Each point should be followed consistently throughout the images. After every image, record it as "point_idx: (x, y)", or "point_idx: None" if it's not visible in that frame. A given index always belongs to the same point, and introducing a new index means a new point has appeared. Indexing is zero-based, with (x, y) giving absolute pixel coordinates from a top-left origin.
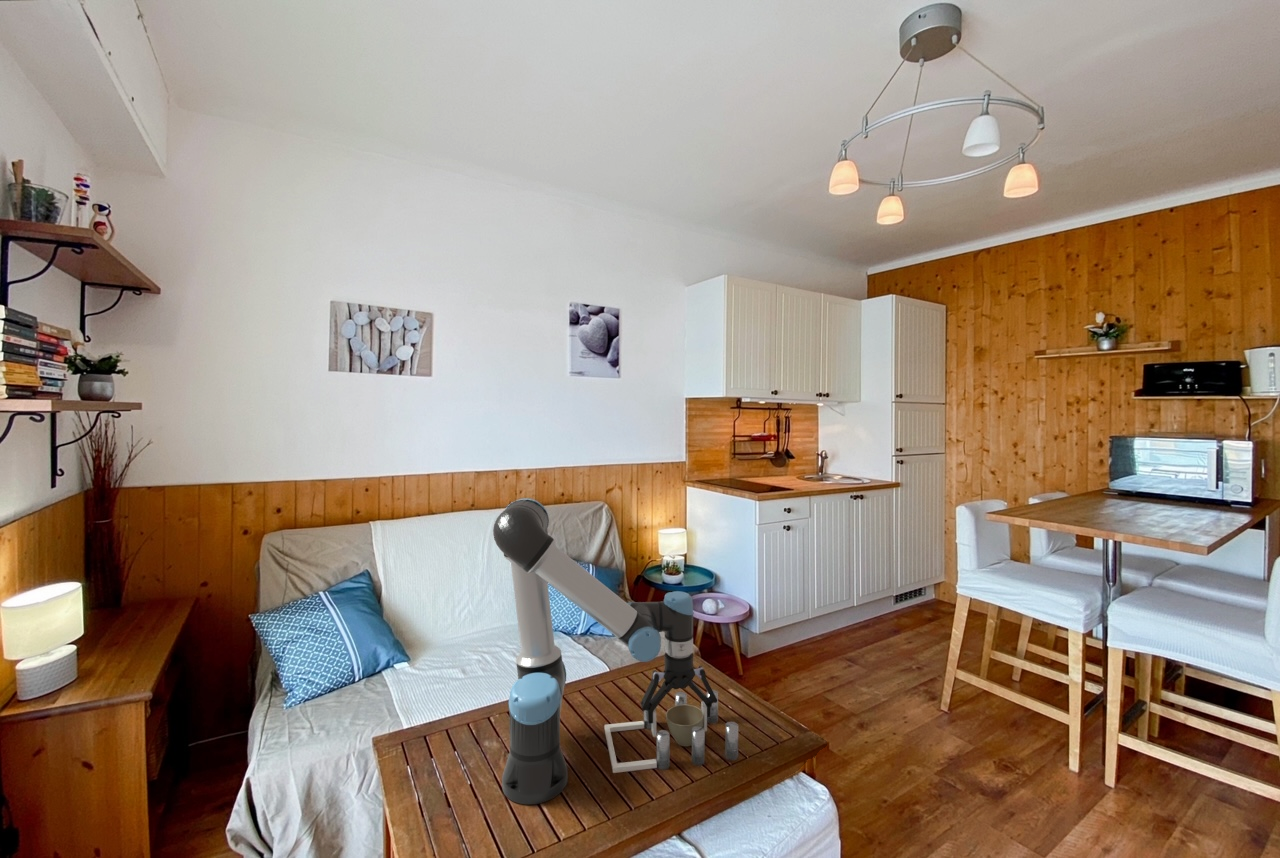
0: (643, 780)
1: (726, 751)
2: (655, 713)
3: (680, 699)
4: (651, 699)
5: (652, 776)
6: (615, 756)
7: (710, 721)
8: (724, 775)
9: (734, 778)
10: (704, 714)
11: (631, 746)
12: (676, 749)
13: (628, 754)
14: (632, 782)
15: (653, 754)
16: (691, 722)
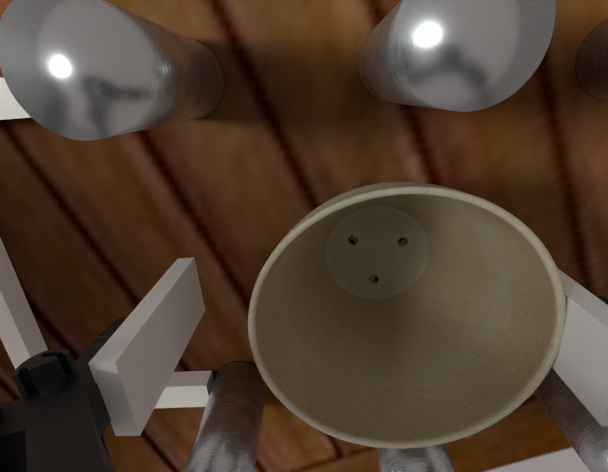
0: (166, 435)
1: (535, 392)
2: (136, 429)
3: (437, 108)
4: (28, 448)
5: (199, 423)
6: (28, 354)
7: (595, 93)
8: (463, 445)
9: (491, 459)
10: (559, 371)
11: (99, 257)
12: None
13: (93, 308)
14: (128, 439)
15: (205, 319)
16: (447, 212)
